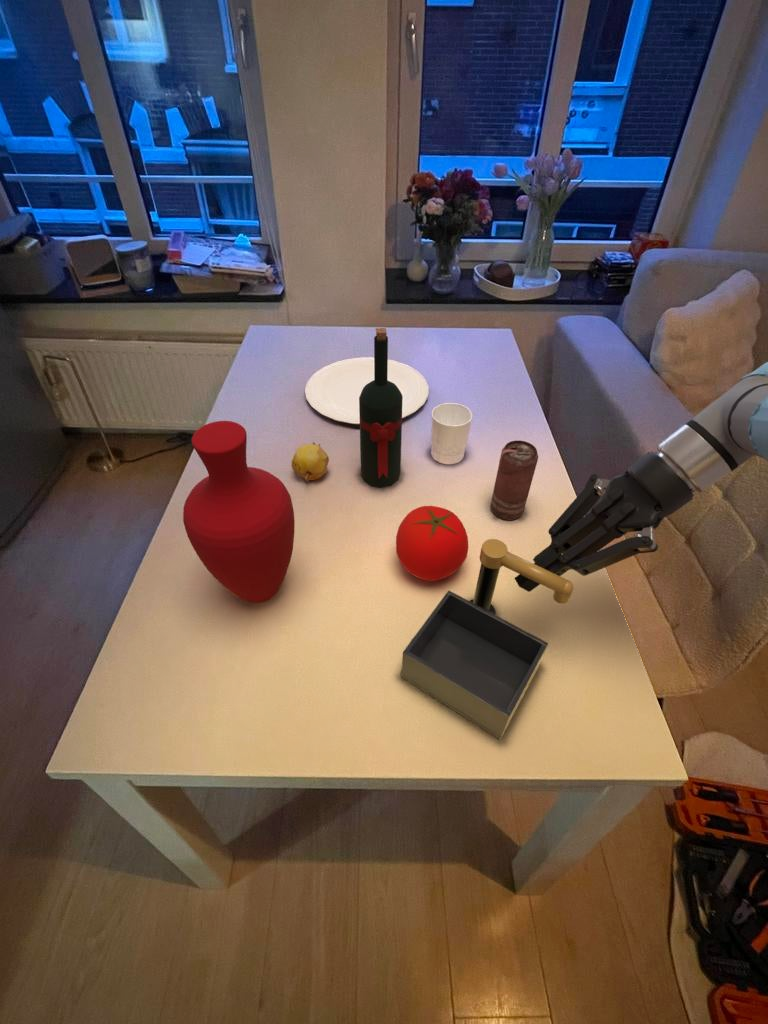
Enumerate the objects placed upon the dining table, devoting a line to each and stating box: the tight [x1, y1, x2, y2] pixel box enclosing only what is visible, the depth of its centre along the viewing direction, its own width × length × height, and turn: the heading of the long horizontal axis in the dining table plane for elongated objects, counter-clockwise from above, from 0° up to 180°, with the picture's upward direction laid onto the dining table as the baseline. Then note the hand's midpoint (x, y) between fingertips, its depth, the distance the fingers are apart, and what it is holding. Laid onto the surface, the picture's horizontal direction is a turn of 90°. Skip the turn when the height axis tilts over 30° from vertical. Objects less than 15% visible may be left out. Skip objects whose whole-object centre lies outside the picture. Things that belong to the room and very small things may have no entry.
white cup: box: [430, 402, 473, 465], centre depth 105 cm, size 8×8×10 cm
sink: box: [401, 590, 549, 740], centre depth 72 cm, size 12×15×7 cm
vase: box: [182, 420, 296, 604], centre depth 74 cm, size 15×15×30 cm
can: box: [489, 440, 539, 521], centre depth 92 cm, size 6×6×14 cm
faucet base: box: [469, 562, 501, 616], centre depth 76 cm, size 5×5×13 cm
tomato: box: [395, 505, 469, 582], centre depth 84 cm, size 12×12×10 cm
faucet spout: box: [479, 538, 574, 604], centre depth 69 cm, size 13×3×3 cm, turn 55°
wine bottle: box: [359, 327, 403, 489], centre depth 93 cm, size 8×10×30 cm
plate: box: [304, 356, 430, 425], centre depth 124 cm, size 29×29×2 cm
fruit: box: [291, 441, 330, 484], centre depth 102 cm, size 7×7×10 cm
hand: (521, 585), depth 72 cm, fingers closed
